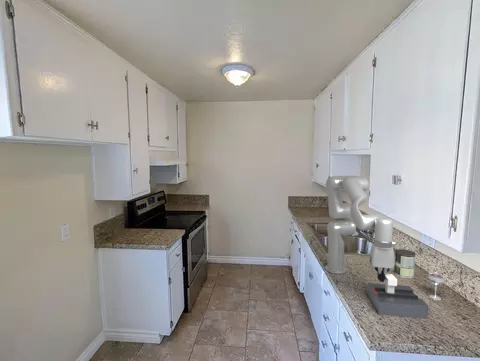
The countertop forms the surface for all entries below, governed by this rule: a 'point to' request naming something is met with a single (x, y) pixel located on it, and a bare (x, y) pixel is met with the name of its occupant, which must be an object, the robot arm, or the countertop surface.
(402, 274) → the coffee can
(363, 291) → the countertop surface
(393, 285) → the handle
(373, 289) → the slider base
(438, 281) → the wineglass
